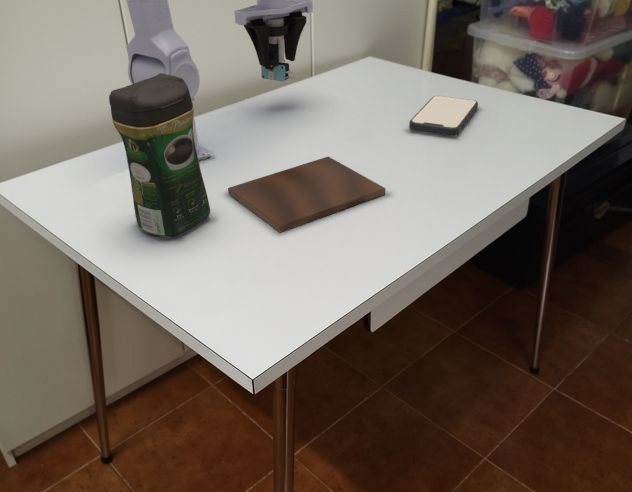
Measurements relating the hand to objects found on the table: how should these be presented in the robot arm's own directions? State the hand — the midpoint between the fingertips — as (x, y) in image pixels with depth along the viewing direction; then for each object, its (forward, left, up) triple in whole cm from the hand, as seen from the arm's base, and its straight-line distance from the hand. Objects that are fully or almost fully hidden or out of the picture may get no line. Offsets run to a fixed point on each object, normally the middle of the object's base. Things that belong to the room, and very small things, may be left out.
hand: (277, 62), depth 112 cm
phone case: (+20, -23, -8) cm, 32 cm away
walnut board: (-16, -32, -8) cm, 36 cm away
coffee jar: (-35, -28, -8) cm, 45 cm away
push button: (0, 0, -3) cm, 3 cm away
